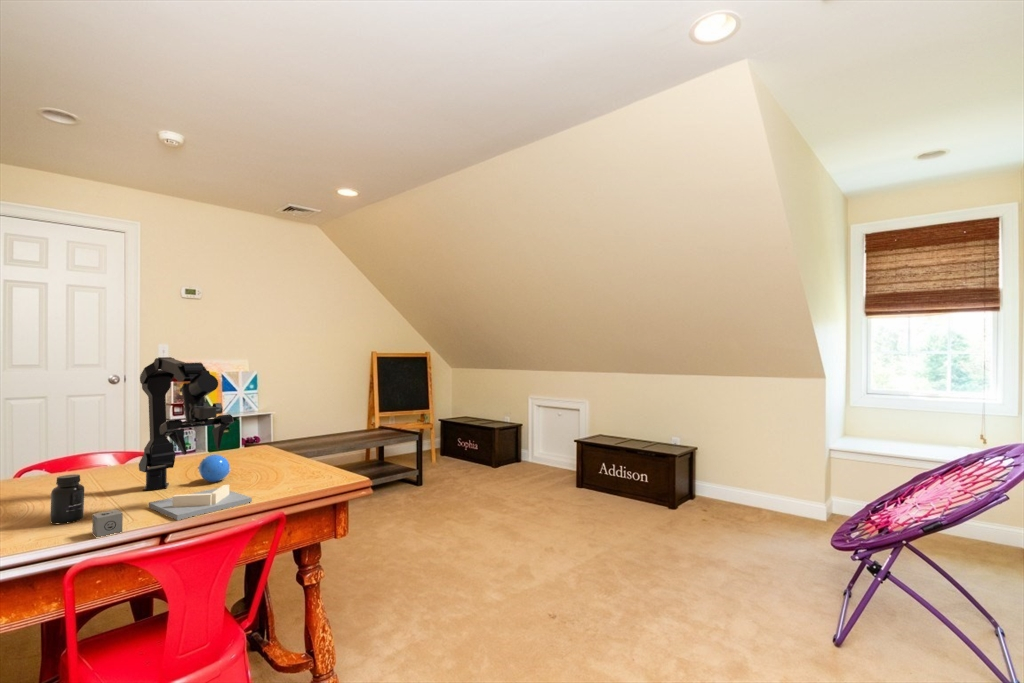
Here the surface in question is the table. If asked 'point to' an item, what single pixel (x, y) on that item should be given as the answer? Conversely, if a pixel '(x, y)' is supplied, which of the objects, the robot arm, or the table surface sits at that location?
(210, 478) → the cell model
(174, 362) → the robot arm
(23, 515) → the table surface
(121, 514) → the dice cube
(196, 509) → the v cradle
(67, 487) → the supplement bottle
